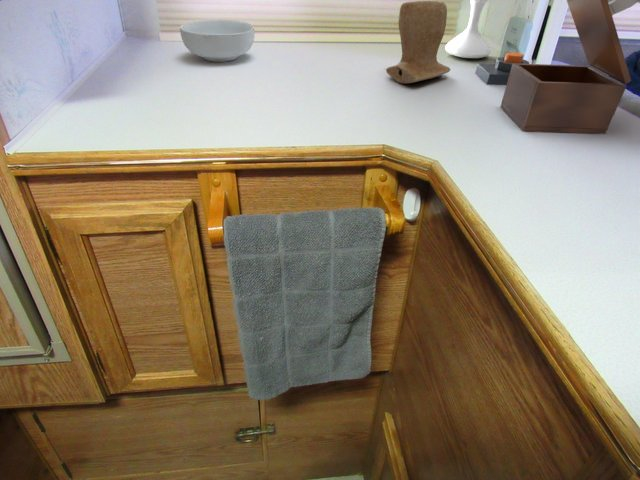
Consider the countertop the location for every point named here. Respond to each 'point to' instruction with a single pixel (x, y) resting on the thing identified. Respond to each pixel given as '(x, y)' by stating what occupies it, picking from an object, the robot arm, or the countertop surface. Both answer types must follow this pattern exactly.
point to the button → (513, 57)
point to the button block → (496, 71)
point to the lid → (599, 37)
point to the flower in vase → (470, 37)
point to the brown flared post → (420, 41)
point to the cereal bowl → (217, 39)
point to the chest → (561, 98)
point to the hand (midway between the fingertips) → (595, 16)
